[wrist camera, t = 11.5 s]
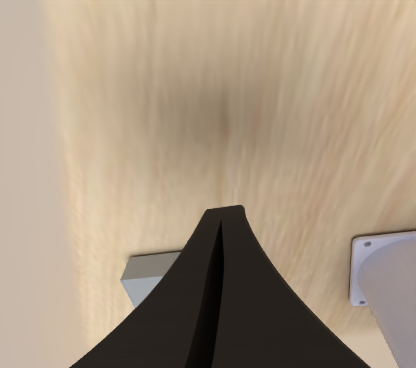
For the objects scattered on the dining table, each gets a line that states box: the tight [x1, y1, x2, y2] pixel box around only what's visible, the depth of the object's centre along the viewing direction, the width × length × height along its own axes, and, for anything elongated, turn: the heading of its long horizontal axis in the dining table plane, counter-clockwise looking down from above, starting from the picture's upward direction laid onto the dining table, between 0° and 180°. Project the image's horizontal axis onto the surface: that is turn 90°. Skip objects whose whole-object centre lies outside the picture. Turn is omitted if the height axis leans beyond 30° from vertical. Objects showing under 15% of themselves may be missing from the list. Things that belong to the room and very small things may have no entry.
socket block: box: [120, 252, 181, 308], centre depth 25 cm, size 11×11×2 cm
